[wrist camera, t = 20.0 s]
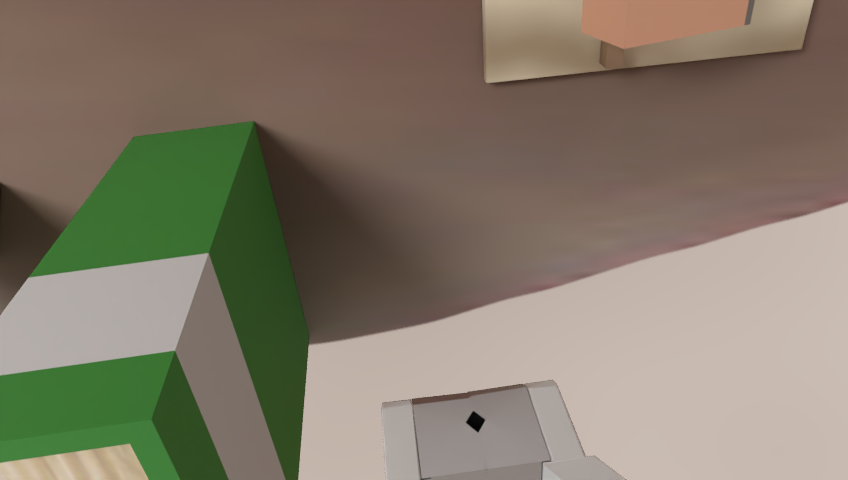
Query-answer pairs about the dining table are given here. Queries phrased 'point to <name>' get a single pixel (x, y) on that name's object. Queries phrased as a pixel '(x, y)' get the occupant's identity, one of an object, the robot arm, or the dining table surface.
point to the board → (579, 53)
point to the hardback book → (160, 326)
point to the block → (660, 19)
